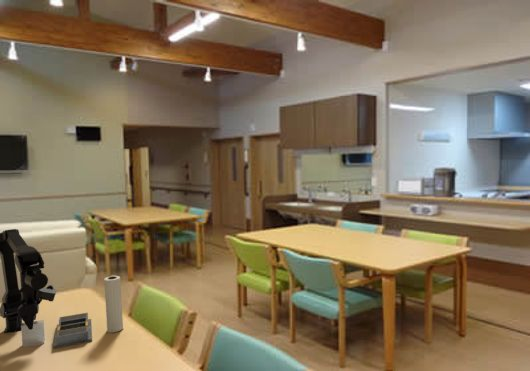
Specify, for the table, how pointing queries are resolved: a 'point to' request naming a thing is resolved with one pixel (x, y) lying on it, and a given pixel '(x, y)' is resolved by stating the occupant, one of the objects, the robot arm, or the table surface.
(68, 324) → the rack
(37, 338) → the plain gray rectangular block
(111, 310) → the paper towel roll
